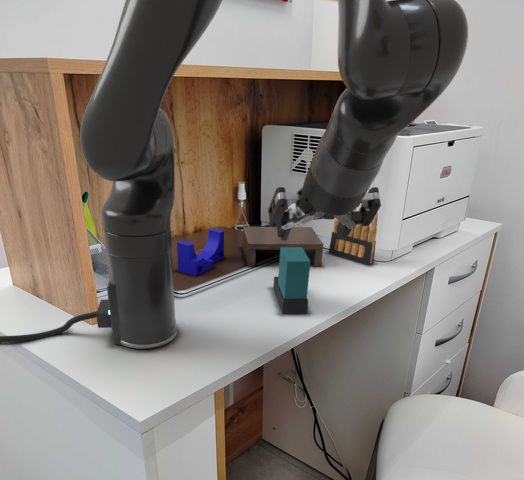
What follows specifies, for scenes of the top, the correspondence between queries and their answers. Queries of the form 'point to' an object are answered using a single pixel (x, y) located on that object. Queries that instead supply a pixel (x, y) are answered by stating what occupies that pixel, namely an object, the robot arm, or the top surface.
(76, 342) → the top surface
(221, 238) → the blue u-shaped cradle
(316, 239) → the walnut shelf
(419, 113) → the robot arm
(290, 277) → the teal block on base
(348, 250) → the ammunition clip
